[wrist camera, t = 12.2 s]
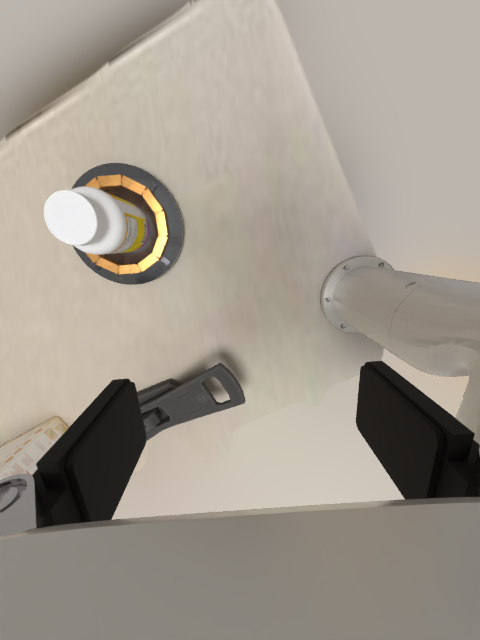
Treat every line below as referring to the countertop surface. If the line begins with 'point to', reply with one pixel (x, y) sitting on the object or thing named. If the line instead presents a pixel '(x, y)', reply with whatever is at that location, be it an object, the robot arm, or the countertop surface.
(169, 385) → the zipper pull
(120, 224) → the supplement bottle
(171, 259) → the rosette plate
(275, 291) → the countertop surface
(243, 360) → the countertop surface
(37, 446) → the coffeecake box
